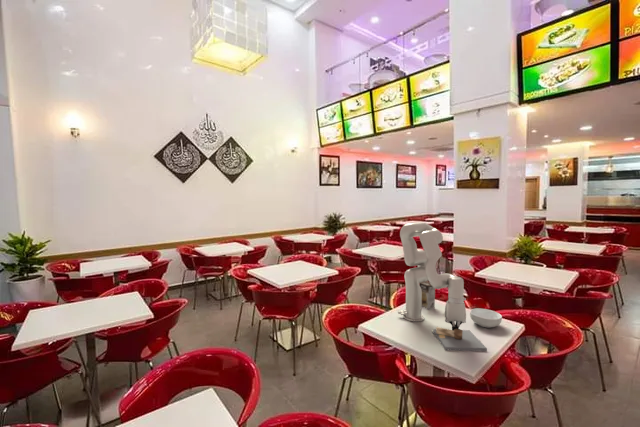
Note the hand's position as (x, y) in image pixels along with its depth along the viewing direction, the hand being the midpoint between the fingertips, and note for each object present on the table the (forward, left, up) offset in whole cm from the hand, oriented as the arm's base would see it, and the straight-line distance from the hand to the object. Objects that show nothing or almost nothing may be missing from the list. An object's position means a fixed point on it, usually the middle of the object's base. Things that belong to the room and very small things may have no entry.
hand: (455, 332), depth 166 cm
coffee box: (-2, +46, -3) cm, 46 cm away
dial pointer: (-4, -2, -1) cm, 5 cm away
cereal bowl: (+24, +17, -3) cm, 29 cm away
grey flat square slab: (0, -4, -2) cm, 5 cm away
